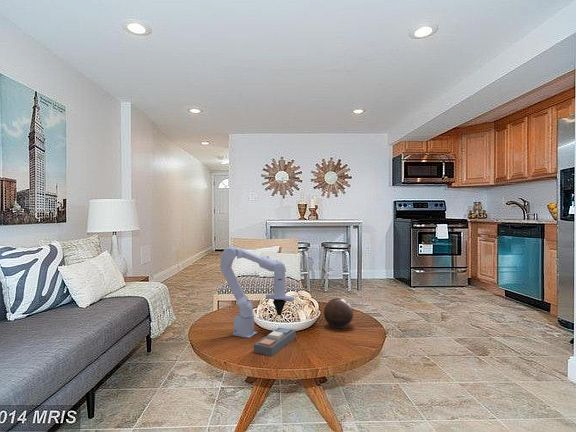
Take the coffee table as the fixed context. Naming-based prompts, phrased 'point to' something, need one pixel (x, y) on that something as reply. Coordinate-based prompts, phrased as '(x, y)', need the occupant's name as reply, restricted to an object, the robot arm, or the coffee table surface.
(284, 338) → the key console
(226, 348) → the coffee table surface
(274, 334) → the white key
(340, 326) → the wooden sphere
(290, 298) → the robot arm
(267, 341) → the terracotta key
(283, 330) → the blue key
